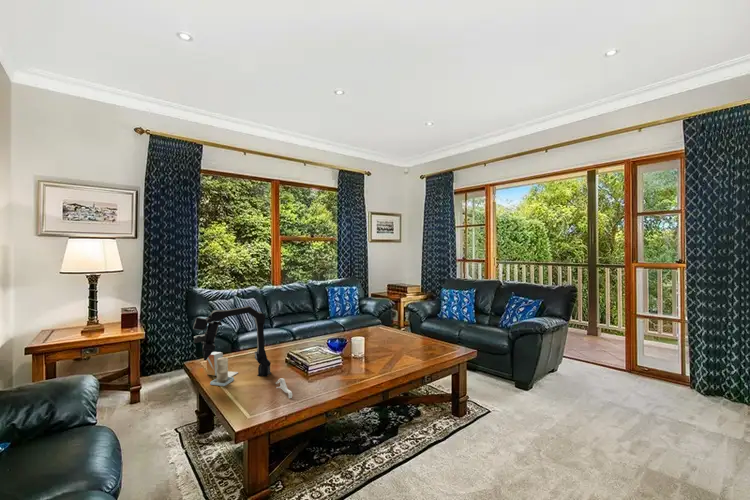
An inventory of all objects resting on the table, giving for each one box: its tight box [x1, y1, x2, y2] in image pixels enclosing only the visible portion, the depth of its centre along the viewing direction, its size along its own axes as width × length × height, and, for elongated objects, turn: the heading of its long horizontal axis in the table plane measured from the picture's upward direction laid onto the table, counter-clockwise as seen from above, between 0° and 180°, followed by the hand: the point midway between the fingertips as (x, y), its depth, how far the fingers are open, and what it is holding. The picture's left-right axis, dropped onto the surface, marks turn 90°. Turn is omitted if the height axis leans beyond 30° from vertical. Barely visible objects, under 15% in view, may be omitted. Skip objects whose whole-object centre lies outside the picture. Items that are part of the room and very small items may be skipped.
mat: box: [228, 370, 239, 378], centre depth 223 cm, size 9×9×1 cm
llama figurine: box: [275, 377, 293, 399], centre depth 197 cm, size 2×11×18 cm
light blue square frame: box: [209, 376, 235, 387], centre depth 211 cm, size 9×9×2 cm
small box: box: [206, 351, 224, 377], centre depth 224 cm, size 8×6×13 cm
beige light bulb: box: [216, 356, 229, 383], centre depth 211 cm, size 6×6×14 cm
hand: (204, 358), depth 208 cm, fingers open, 9 cm apart
